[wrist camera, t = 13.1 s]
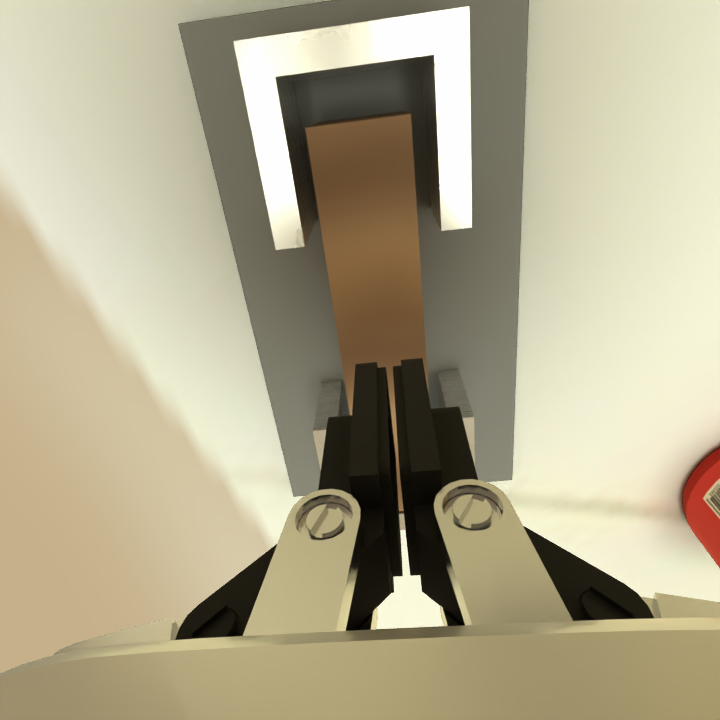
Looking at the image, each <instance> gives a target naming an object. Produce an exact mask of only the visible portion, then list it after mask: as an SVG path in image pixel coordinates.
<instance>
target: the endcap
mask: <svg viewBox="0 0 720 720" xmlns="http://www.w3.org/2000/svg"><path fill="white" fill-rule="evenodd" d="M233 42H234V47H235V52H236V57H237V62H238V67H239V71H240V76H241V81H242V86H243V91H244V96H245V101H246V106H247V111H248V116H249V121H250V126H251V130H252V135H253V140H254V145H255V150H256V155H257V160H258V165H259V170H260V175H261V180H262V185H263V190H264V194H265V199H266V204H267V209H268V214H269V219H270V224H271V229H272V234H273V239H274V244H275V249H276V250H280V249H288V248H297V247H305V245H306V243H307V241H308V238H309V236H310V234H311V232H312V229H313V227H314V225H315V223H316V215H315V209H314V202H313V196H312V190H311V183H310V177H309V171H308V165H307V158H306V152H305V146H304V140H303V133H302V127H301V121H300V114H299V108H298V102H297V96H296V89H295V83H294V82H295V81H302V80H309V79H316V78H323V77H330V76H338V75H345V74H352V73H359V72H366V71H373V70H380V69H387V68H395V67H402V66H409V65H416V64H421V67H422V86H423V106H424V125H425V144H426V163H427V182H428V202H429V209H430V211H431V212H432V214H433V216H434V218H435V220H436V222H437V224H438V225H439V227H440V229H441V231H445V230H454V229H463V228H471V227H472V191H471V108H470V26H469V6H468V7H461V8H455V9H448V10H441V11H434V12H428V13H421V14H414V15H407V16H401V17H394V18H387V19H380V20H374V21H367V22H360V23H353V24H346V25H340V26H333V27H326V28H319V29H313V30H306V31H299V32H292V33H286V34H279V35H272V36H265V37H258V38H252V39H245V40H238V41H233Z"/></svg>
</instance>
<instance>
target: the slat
mask: <svg viewBox="0 0 720 720" xmlns="http://www.w3.org/2000/svg"><path fill="white" fill-rule="evenodd" d="M305 129H306V136H307V142H308V149H309V155H310V162H311V168H312V174H313V181H314V187H315V194H316V200H317V206H318V213H319V219H320V226H321V232H322V239H323V245H324V251H325V258H326V264H327V271H328V277H329V283H330V290H331V296H332V303H333V309H334V316H335V322H336V328H337V335H338V341H339V348H340V354H341V360H342V367H343V373H344V380H345V386H346V393H347V399H348V405H349V412H350V415H352V409H353V393H354V378H355V364H360V363H371V362H377V364H378V368H379V367H386V371H387V380H388V389H389V398H390V408H391V417H392V426H393V435H394V444H395V454H396V468H397V485H398V503H399V511H404V510H403V501H402V491H401V482H400V471H399V457H398V441H397V425H396V410H395V394H394V379H393V366H401V360H404V359H415V358H422V359H423V365H424V371H425V376H426V382H427V388H428V376H427V361H426V345H425V329H424V313H423V297H422V282H421V266H420V250H419V234H418V218H417V202H416V187H415V171H414V155H413V139H412V123H411V114H410V113H407V112H404V111H401V112H394V113H386V114H379V115H371V116H364V117H356V118H349V119H341V120H334V121H326V122H319V123H316V124H314V125H311V126H309V127H306V128H305ZM428 394H429V392H428Z"/></svg>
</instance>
